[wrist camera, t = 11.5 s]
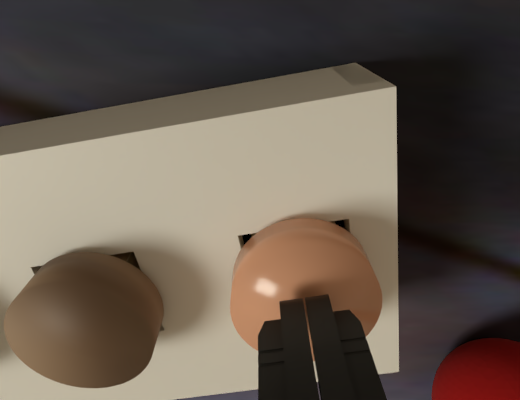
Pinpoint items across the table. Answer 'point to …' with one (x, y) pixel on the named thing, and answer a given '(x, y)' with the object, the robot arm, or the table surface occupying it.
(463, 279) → the table surface
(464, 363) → the christmas ornament
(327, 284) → the terracotta knob
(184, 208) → the knob console
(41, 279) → the walnut knob
